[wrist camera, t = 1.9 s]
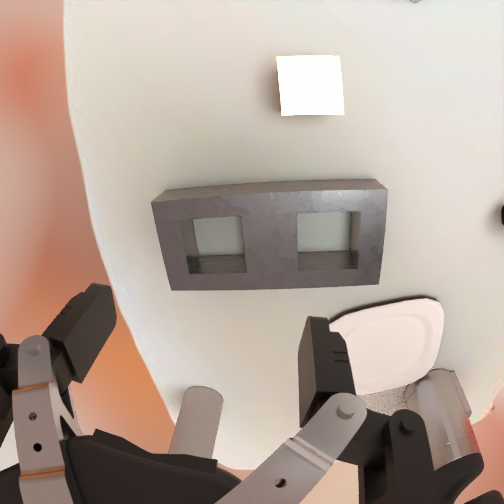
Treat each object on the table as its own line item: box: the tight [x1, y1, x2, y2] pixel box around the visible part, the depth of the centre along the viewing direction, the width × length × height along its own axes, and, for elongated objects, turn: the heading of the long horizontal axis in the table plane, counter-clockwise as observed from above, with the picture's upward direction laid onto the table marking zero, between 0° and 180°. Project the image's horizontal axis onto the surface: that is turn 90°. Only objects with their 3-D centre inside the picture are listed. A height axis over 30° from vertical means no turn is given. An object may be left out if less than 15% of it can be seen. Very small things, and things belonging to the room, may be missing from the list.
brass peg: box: [277, 56, 344, 115], centre depth 22 cm, size 4×4×8 cm
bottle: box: [168, 386, 223, 459], centre depth 35 cm, size 7×7×28 cm
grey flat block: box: [151, 179, 388, 290], centre depth 30 cm, size 22×10×4 cm, turn 95°
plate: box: [329, 298, 444, 396], centre depth 38 cm, size 18×18×2 cm
